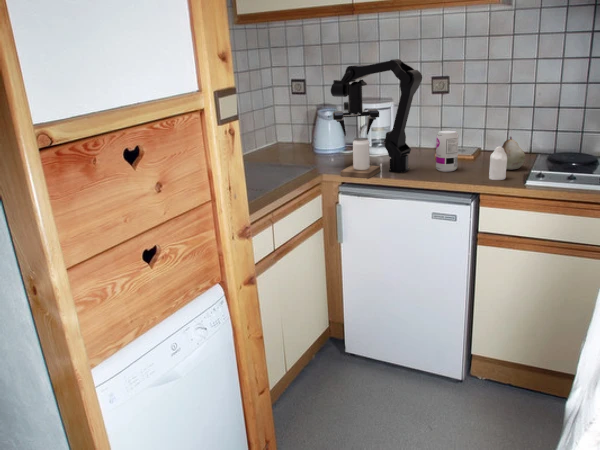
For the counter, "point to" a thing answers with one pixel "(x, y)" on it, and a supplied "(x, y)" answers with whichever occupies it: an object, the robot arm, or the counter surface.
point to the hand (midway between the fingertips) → (356, 135)
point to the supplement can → (447, 150)
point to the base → (360, 172)
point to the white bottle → (498, 164)
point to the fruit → (513, 154)
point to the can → (361, 154)
